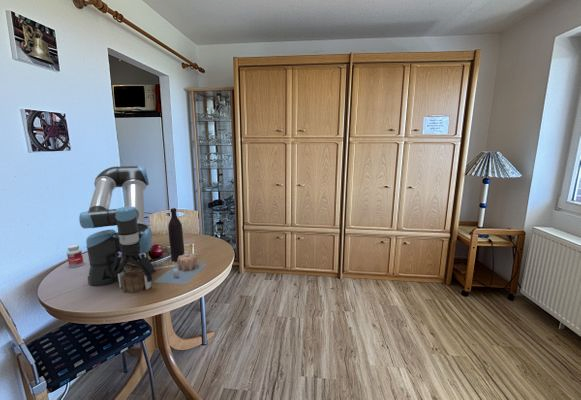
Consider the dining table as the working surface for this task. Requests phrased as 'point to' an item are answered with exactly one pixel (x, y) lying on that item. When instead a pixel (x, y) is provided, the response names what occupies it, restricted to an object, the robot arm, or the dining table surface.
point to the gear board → (179, 275)
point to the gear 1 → (133, 281)
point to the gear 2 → (187, 262)
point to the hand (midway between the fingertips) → (135, 287)
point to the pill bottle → (75, 256)
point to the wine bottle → (175, 236)
